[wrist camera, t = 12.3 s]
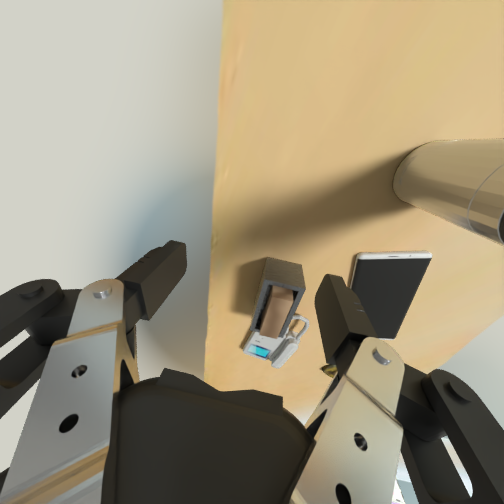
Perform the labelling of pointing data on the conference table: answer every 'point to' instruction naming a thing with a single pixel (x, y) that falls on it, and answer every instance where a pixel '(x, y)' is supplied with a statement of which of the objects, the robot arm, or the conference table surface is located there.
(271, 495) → the robot arm
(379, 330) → the smartphone
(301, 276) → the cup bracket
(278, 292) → the brown rectangular block
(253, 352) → the intercom
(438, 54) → the conference table surface
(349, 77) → the conference table surface
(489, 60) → the conference table surface
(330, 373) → the seal
